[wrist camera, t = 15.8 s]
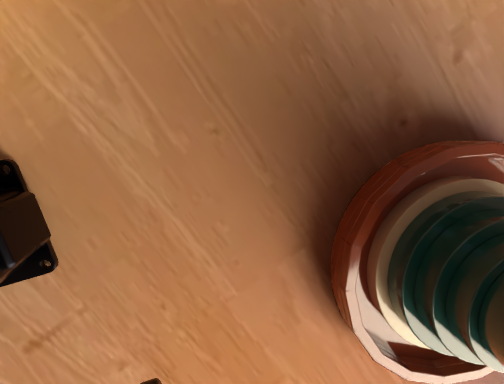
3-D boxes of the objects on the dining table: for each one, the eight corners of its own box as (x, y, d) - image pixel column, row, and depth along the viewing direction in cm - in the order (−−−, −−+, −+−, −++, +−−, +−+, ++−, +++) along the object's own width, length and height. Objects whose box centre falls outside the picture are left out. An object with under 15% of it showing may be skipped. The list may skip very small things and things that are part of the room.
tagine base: (353, 386, 25) (371, 417, 22) (306, 176, 21) (321, 184, 19) (547, 320, 26) (584, 341, 24) (535, 111, 22) (577, 110, 20)
